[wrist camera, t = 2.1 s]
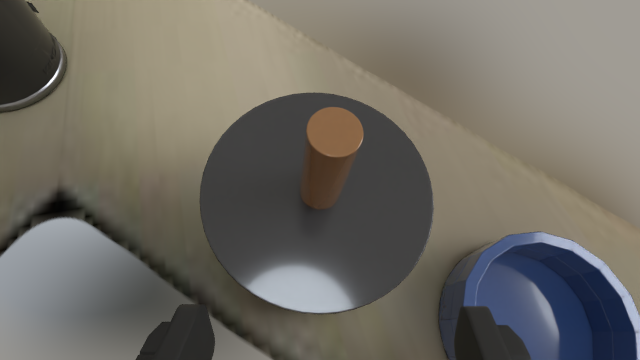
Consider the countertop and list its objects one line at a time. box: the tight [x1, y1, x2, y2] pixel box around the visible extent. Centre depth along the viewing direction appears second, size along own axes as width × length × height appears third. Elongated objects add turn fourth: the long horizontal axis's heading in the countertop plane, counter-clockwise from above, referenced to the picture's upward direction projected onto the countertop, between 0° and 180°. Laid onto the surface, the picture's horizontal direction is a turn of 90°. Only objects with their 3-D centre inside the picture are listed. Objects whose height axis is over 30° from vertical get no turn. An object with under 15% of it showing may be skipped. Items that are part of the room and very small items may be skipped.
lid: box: [200, 93, 434, 315], centre depth 21 cm, size 15×15×9 cm
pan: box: [439, 232, 640, 360], centre depth 28 cm, size 13×13×4 cm
